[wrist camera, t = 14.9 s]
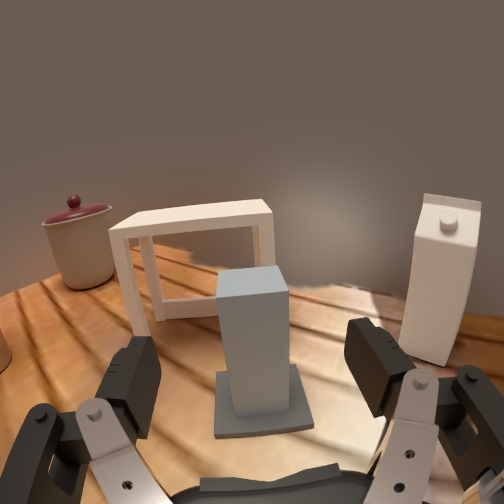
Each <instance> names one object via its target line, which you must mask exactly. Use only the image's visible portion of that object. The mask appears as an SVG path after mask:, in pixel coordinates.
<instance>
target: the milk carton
mask: <svg viewBox="0 0 504 504" xmlns="http://www.w3.org/2000/svg"><path fill="white" fill-rule="evenodd" d="M480 213H481V202H478V201H472V200H466V199H460V198H453V197H446V196H439V195H431V194H424V203H423V207H422V211H421V215H420V218H419V222H418V225H417V229H416V232H415V240H414V250H413V260H412V268H411V275H410V283H409V290H408V295H407V301H406V307H405V312H404V317H403V322H402V327H401V332H400V336H399V341H398V345H399V346H400V348H402V350H403V351H404V352H405V353H406V354H407V355H410V356H413V357H416V358H419V359H422V360H425V361H428V362H431V363H434V364H437V365H440V366H443V367H444V366H445V365H446V363H447V360H448V358H449V355H450V352H451V350H452V347H453V344H454V342H455V339H456V336H457V333H458V330H459V326H460V323H461V320H462V316H463V312H464V309H465V305H466V301H467V297H468V293H469V288H470V284H471V279H472V273H473V269H474V263H475V257H476V251H477V244H478V236H479V227H480Z"/></svg>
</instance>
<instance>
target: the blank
mask: <svg viewBox="0 0 504 504" xmlns="http://www.w3.org/2000/svg"><path fill="white" fill-rule="evenodd" d="M216 302H217V309H218V316H219V323H220V329H221V336H222V342H223V348H224V354H225V360H226V366H227V372H228V378H229V383H230V389H231V395H232V400H233V405H234V411H235V416H236V417H247V416H258V415H267V414H276V413H283V412H289V290H288V288H287V286H286V283H285V281H284V279H283V277H282V274H281V272H280V270H279V267H278V266H277V265H276V266H266V267H255V268H244V269H233V270H222V271H219V272H218V282H217V291H216Z"/></svg>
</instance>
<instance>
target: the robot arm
mask: <svg viewBox="0 0 504 504" xmlns="http://www.w3.org/2000/svg"><path fill="white" fill-rule="evenodd" d="M11 356H12V354H11V351H10V349H9V347H8V345H7V343H6V341H5V339H4V336H3V334H2V332H1V329H0V372H1V371H2V370H3V369H5V368H6V366H7V365H8V364H9V362H10V360H11ZM344 357H345V361H346V363H347V365H348V367H349V369H350V371H351V373H352V375H353V377H354V379H355V381H356V383H357V385H358V387H359V389H360V391H361V393H362V395H363V397H364V399H365V401H366V403H367V405H368V407H369V409H370V411H371V413H372V415H373V417H374V418H377V417H380V416H383V415H384V416H385V418H386V422H385V424H384V427H383V429H382V432H381V435H380V438H379V441H378V443H377V446H376V449H375V451H374V454H373V456H372V459H371V461H370V463H369V465H368V467H367V469H366V471H365V473H361V472H356V471H348V470H340V469H339V466H338V463H334V464H330V465H326V466H321V467H316V468H311V469H305V470H303V471H300V472H298V473H295V474H292V475H290V476H287V477H284V478H281V479H278V480H275V481H271V482H266V481H257V480H249V479H242V478H235V477H229V478H200V486H195V487H191V488H188V489H185V490H183V491H180V492H178V493H177V494H175V495H173V496H172V497H171V496H170V494H169V493H168V492H167V491H166V489H165V488H164V487H163V486H162V484H161V483H160V482H159V480H158V479H157V478H156V476H155V475H154V473H153V472H152V470H151V469H150V468H149V466H148V465H147V463H146V462H145V460H144V459H143V457H142V456H141V454H140V452H139V451H138V449H137V448H136V446H135V445H136V441H137V439H147V437H148V432H149V427H150V423H151V418H152V414H153V410H154V405H155V401H156V397H157V393H158V388H159V384H160V380H161V366H160V362H159V359H158V356H157V352H156V349H155V346H154V342H153V339H152V337H151V336H133V337H132V338H131V340H130V342H129V345H128V347H127V348H121V349H120V350H119V351H118V352H117V353H116V354H115V355H114V356H113V358H112V360H111V363H110V366H109V367H108V369H107V373H105V375H104V377H103V380H102V382H101V384H100V386H99V388H98V391H97V393H96V395H95V398H92V399H88V400H86V401H84V402H83V403H81V404H80V405H79V407H78V408H77V410H76V411H75V412H66V413H58V412H57V411H56V409H55V408H54V407H53V406H52V405H50V404H47V403H41V404H38V405H36V406H34V407H33V408H32V409H30V411H29V412H28V414H27V416H26V418H25V420H24V422H23V424H22V426H21V429H20V431H19V433H18V435H17V437H16V440H15V442H14V444H13V447H12V449H11V451H10V454H9V456H8V459H7V461H6V464H5V467H4V469H3V472H2V475H1V477H0V504H80V502H81V496H82V491H83V487H84V482H85V477H86V473H87V469H88V464H90V466H91V468H92V471H93V473H94V475H95V477H96V479H97V481H98V483H99V485H100V487H101V489H102V491H103V493H104V495H105V497H106V499H107V501H108V502H109V504H429V503H427V502H425V501H423V497H424V494H425V491H426V487H427V483H428V480H429V476H430V472H431V468H432V463H433V459H434V454H435V449H436V443H437V438H438V439H439V441H440V443H441V445H442V447H443V449H444V451H445V453H446V455H447V457H448V459H449V461H450V463H451V465H452V467H453V469H454V471H455V473H456V475H457V477H458V479H459V481H460V484H461V486H462V488H463V490H464V492H465V493H464V495H463V498H462V504H504V397H503V396H502V395H501V393H500V392H499V391H498V389H497V388H496V387H495V386H494V384H493V383H492V382H491V381H490V379H489V378H488V377H487V376H486V375H485V373H484V372H483V371H482V370H481V369H479V368H478V367H475V366H471V365H466V366H462V367H461V368H459V369H458V371H457V373H456V375H455V377H449V378H437V377H436V375H435V374H434V373H432V372H431V371H429V370H426V369H421V368H416V366H415V365H414V364H413V362H412V361H411V360H410V359H409V357H408V356H407V355H406V353H405V352H404V351H403V350H402V348H400V346H399V345H398V343H397V342H395V339H394V338H393V337H392V336H391V334H390V333H389V332H387V331H386V330H384V329H382V328H381V327H375V326H374V325H373V323H372V322H371V321H370V319H369V318H367V317H364V318H358V319H352V320H350V321H349V322H348V327H347V334H346V341H345V347H344ZM467 414H469V416H470V417H471V419H472V420H473V422H474V424H475V425H476V427H477V430H478V436H477V434H476V433H475V431H474V429H473V428H472V426H471V425H470V423H469V421H468V420H467V418H466V416H467ZM53 454H54V457H53ZM52 457H53V460H52ZM51 460H52V464H51V467H50V470H49V473H48V469H49V466H50V463H51Z"/></svg>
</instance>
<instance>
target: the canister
mask: <svg viewBox="0 0 504 504" xmlns="http://www.w3.org/2000/svg"><path fill="white" fill-rule="evenodd" d="M80 203H81V198H80V196H79V195H71V196H70V197H69V198H68V199H67V204H68V206H69V207H70V208H68V209H65V210H62V211H59V212H56V213H54V214H52V215H50V216H48V217H47V218H46V219H45V222H44V223H42V227H44V228H45V230H46V234H47V237H48V240H49V244H50V247H51V249H52V252H53V255H54V258H55V261H56V264H57V266H58V269H59V271H60V273H61V276H62V278H63V280H64V282H65V283H66V285H67V286H69V287H70V288H72V289H87V288H92V287H95V286H98V285H100V284H102V283H104V282H106V281H107V280H108V279H109V278H111V276H112V274H113V272H114V258H113V253H112V248H111V243H110V238H109V233H108V230H109V229H110V228H111V219H110V211H111V210H112V207H111V206H108V205H107V204H105V203H92V204H85V205H81V206H79V205H80Z"/></svg>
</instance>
